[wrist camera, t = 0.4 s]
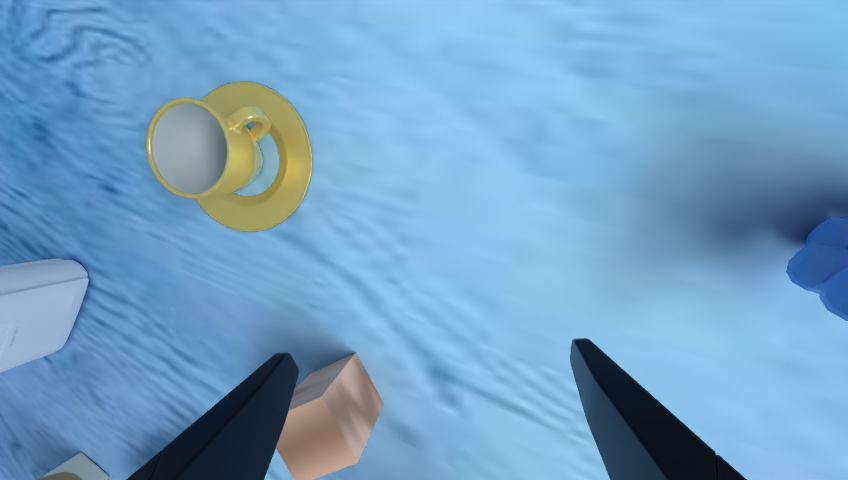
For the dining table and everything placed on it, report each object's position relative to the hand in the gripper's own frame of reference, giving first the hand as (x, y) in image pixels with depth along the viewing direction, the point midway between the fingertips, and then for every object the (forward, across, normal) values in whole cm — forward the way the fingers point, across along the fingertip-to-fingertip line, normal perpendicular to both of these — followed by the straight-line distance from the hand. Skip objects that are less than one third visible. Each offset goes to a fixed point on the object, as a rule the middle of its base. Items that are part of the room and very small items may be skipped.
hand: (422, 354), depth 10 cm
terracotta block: (+9, +10, +15) cm, 20 cm away
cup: (+18, +16, -4) cm, 24 cm away
